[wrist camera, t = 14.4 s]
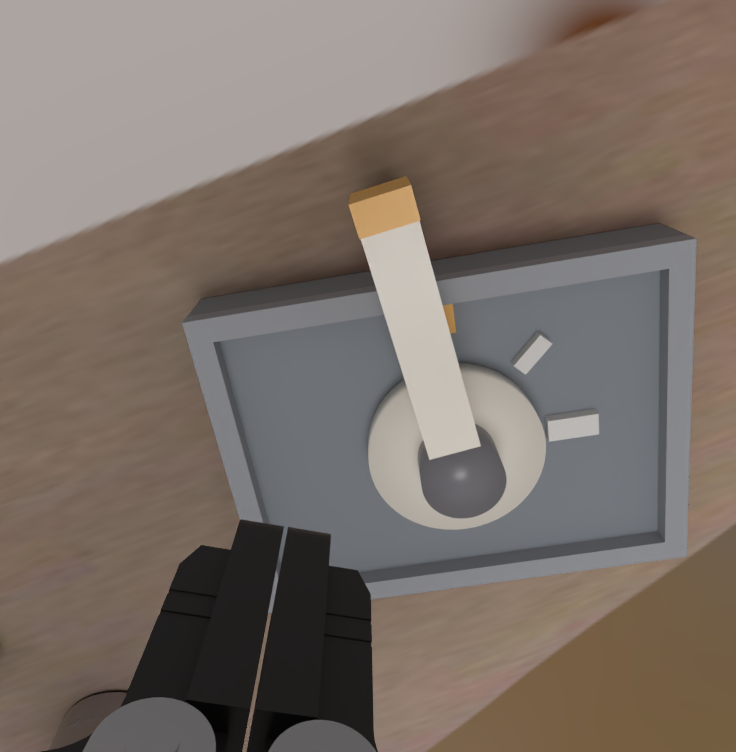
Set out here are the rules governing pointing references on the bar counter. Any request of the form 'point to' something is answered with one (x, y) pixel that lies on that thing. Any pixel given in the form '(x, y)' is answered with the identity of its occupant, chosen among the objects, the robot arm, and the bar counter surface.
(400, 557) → the grey tray
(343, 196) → the bar counter surface
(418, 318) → the white lever with disc
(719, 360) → the bar counter surface
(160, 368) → the bar counter surface
